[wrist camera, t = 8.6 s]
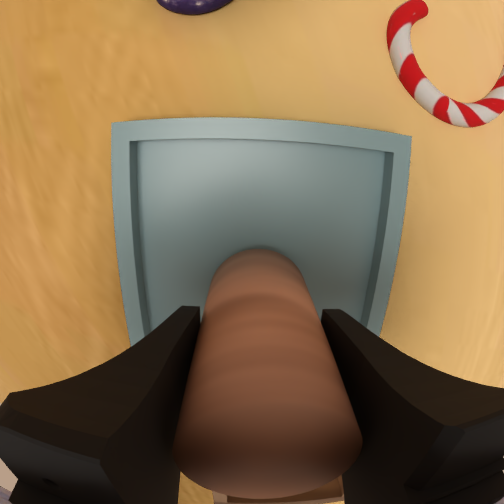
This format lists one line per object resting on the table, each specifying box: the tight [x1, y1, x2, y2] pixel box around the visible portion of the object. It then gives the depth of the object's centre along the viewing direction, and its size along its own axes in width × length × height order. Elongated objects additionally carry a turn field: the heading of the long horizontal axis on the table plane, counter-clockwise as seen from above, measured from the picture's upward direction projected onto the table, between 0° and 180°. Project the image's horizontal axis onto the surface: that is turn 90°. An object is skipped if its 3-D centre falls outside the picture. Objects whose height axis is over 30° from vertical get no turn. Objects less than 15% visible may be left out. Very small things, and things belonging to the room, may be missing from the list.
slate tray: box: [111, 117, 412, 347], centre depth 14 cm, size 14×12×2 cm
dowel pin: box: [172, 249, 363, 499], centre depth 9 cm, size 4×4×8 cm
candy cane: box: [387, 0, 504, 127], centre depth 10 cm, size 8×1×15 cm
